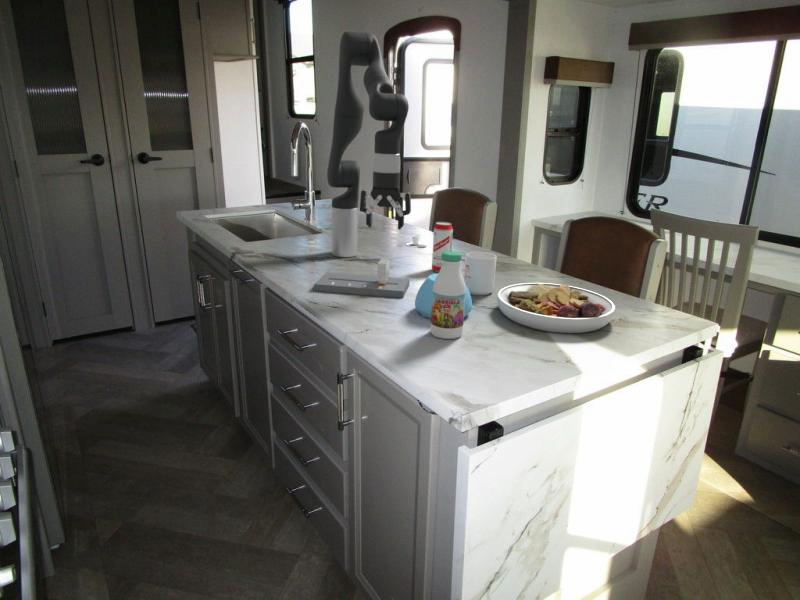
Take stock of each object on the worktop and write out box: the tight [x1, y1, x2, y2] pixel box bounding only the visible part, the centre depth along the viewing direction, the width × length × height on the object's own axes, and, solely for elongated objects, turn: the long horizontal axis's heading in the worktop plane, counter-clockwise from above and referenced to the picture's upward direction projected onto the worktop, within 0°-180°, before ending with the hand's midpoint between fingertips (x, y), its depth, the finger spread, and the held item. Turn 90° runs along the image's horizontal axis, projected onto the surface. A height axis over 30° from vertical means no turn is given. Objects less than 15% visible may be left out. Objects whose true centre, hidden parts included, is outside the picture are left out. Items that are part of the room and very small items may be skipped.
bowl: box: [497, 282, 616, 334], centre depth 151 cm, size 30×30×8 cm
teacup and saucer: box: [405, 234, 428, 248], centre depth 225 cm, size 9×8×4 cm
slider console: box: [313, 271, 411, 299], centre depth 169 cm, size 13×26×2 cm, turn 81°
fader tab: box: [376, 258, 390, 284], centre depth 167 cm, size 6×2×6 cm, turn 171°
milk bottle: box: [429, 250, 465, 340], centre depth 134 cm, size 8×8×20 cm
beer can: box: [431, 221, 454, 273], centre depth 189 cm, size 6×6×16 cm
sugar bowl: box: [414, 273, 473, 320], centre depth 149 cm, size 15×15×12 cm
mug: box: [463, 251, 498, 296], centre depth 170 cm, size 12×9×11 cm
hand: (384, 227), depth 163 cm, fingers open, 8 cm apart
